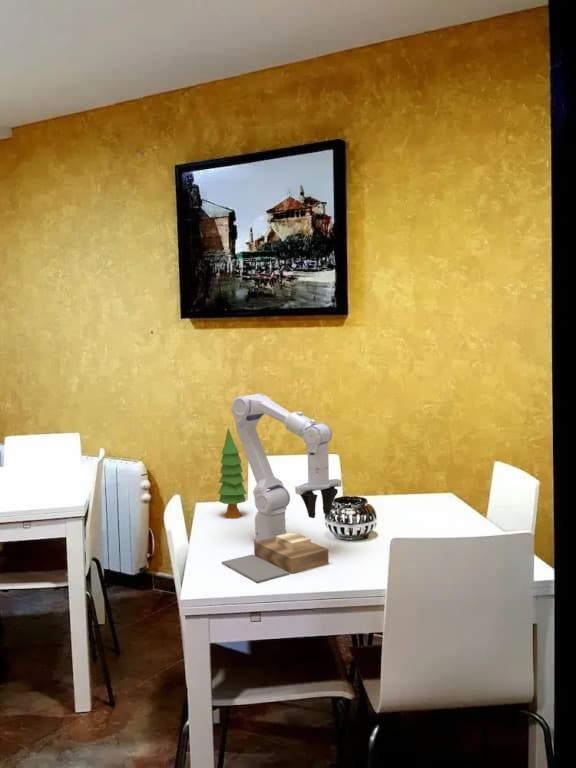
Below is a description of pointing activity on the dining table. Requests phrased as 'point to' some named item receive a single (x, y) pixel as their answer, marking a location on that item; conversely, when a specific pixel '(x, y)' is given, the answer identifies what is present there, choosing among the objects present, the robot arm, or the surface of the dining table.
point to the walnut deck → (291, 555)
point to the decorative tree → (231, 478)
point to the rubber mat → (255, 568)
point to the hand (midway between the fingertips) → (319, 515)
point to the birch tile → (293, 541)
